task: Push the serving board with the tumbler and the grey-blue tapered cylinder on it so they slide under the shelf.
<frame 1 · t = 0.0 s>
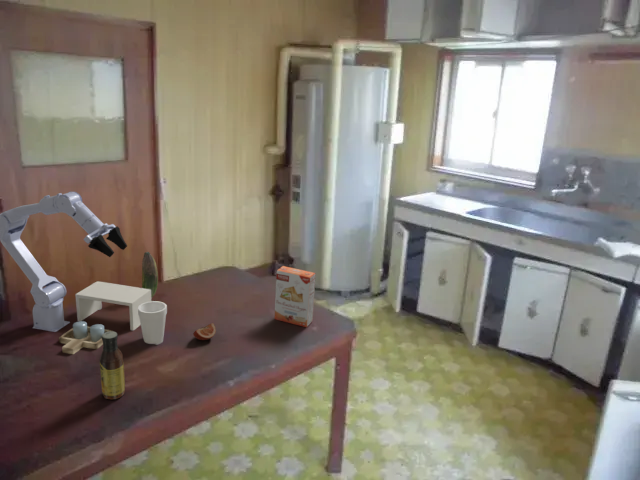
hand: (118, 251, 175), 32 cm above the table, tool tilted 50°, fingers open, 7 cm apart
foam cup: (153, 341, 185), on the table
vegetable: (150, 297, 218), on the table
sauce bottle: (113, 395, 154), on the table
tumbler left: (80, 335, 183), point 1 cm above the table, touching serving board
shelf: (115, 319, 198), on the table
fruit slice: (205, 339, 188), on the table
cracker box: (293, 321, 206), on the table
grey-blue tapered cylinder: (97, 338, 182), point 1 cm above the table, touching serving board
serving board: (87, 340, 182), on the table, touching tumbler left, grey-blue tapered cylinder
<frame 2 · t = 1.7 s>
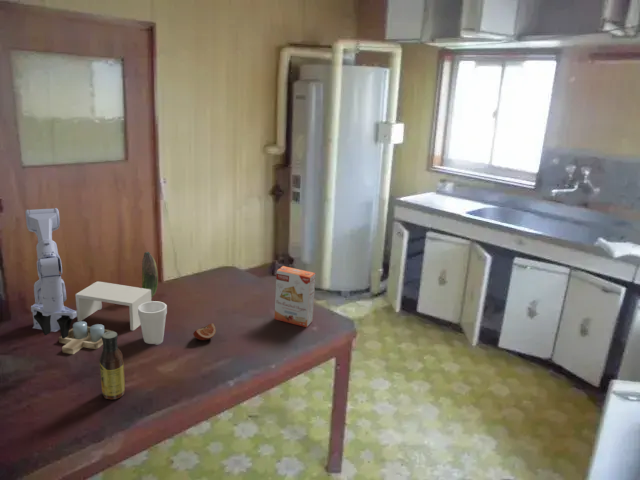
hand: (56, 335, 165), 9 cm above the table, tool pointing down, fingers open, 6 cm apart
nothing on the table moved.
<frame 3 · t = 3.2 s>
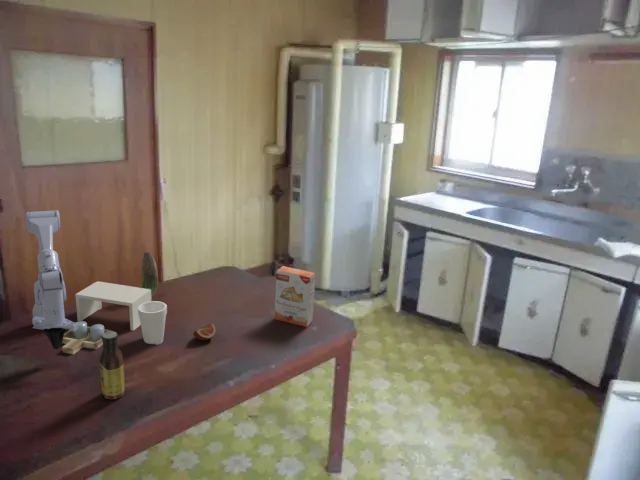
hand: (57, 347, 167), 5 cm above the table, tool pointing down, fingers closed
nothing on the table moved.
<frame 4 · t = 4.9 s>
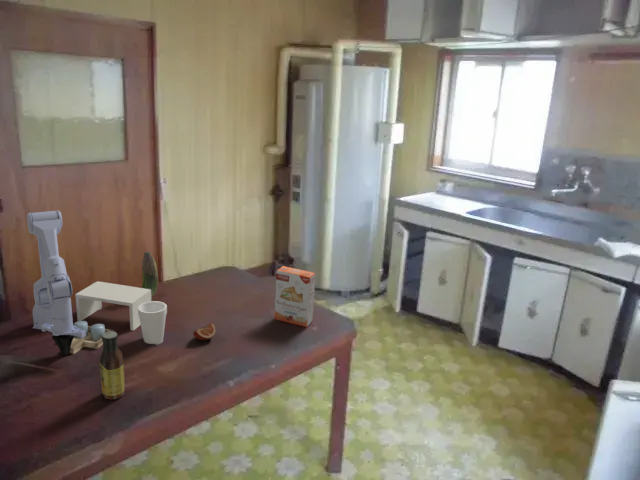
hand: (65, 353, 171), 1 cm above the table, tool pointing down, fingers closed, pressing on serving board
serving board: (87, 340, 182), on the table, touching gripper, tumbler left, grey-blue tapered cylinder
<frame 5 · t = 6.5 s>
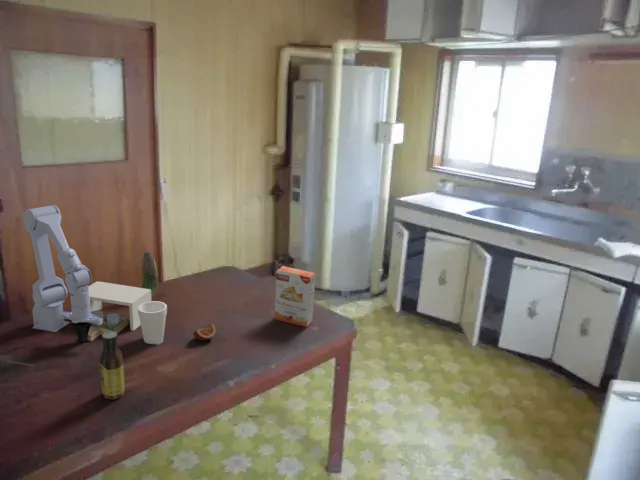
hand: (83, 340, 180), 1 cm above the table, tool pointing down, fingers closed, pressing on serving board
tumbler left: (97, 324, 192), point 1 cm above the table
grey-blue tapered cylinder: (113, 327, 191), point 1 cm above the table, touching serving board
serving board: (103, 328, 191), on the table, touching gripper, grey-blue tapered cylinder
everything else where it was.
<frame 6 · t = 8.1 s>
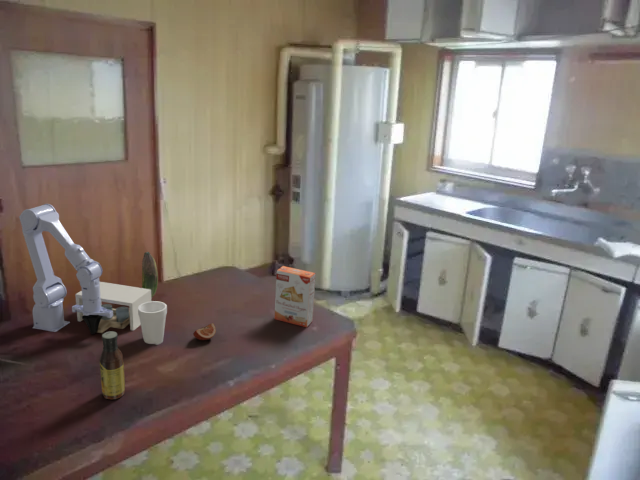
hand: (94, 332, 185), 1 cm above the table, tool pointing down, fingers closed, pressing on serving board
tumbler left: (106, 317, 197), point 1 cm above the table, touching serving board
grey-blue tapered cylinder: (122, 320, 196), point 1 cm above the table, touching serving board
serving board: (113, 321, 196), on the table, touching gripper, tumbler left, grey-blue tapered cylinder
everything else where it was.
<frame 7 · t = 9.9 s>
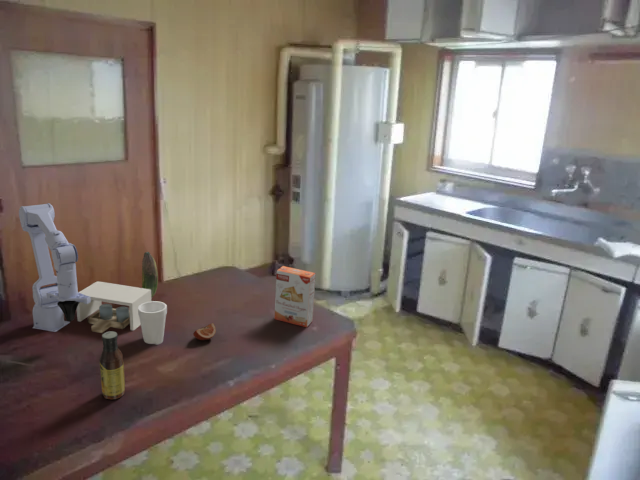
hand: (70, 320, 174), 10 cm above the table, tool pointing down, fingers closed
serving board: (113, 321, 196), on the table, touching tumbler left, grey-blue tapered cylinder
everything else where it was.
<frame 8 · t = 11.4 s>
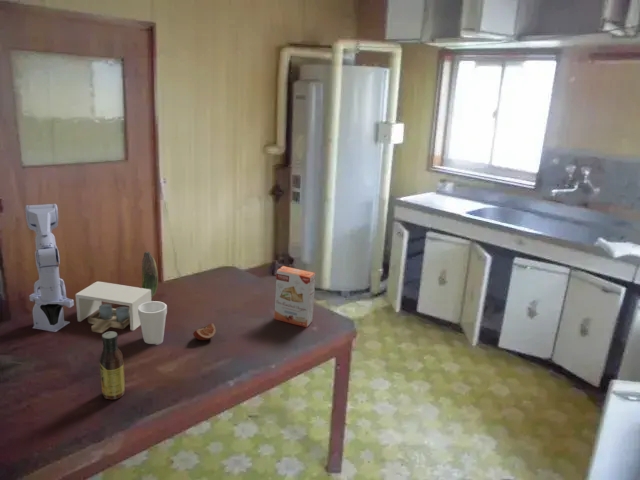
hand: (53, 323, 171), 10 cm above the table, tool pointing down, fingers closed
nothing on the table moved.
at the end: serving board inside the target area on the shelf (3.1 cm from its centre), point 0.0 cm above the shelf's base; tumbler left 3.5 cm from the serving board (horizontally); grey-blue tapered cylinder 3.5 cm from the serving board (horizontally) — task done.
